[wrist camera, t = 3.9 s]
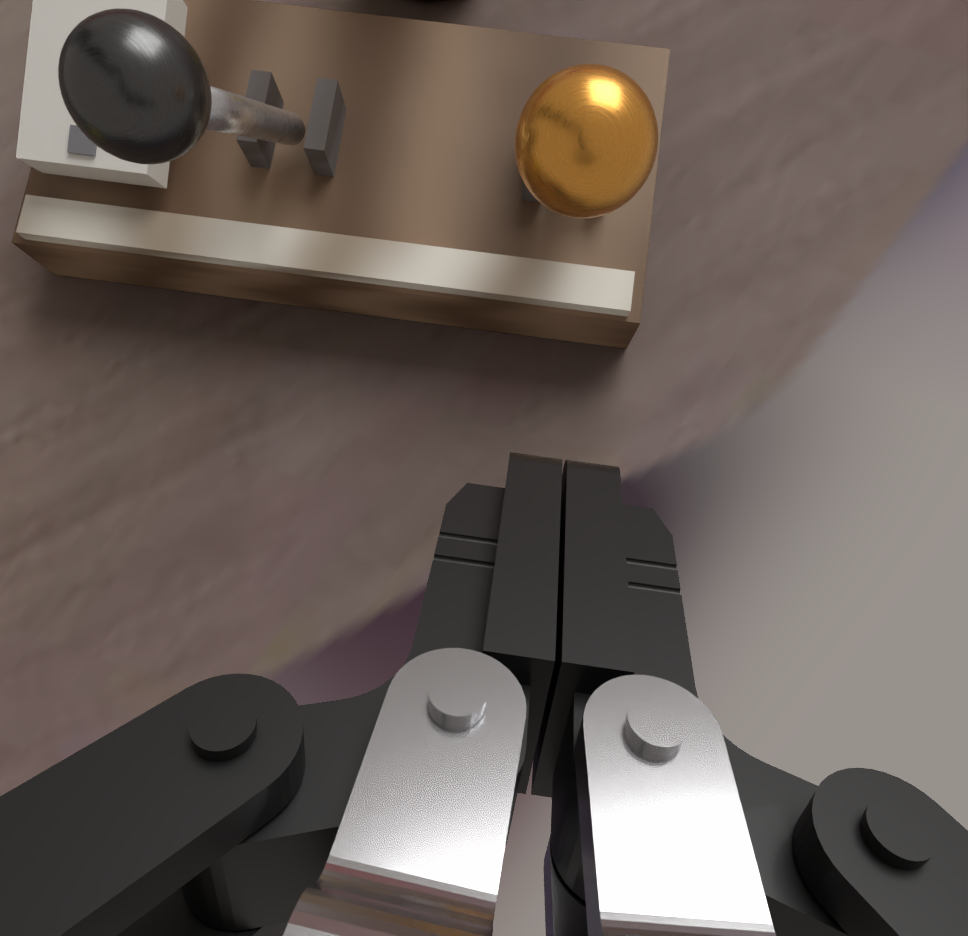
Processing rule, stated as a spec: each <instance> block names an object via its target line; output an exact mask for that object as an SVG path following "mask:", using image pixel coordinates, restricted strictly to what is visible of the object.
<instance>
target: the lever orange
mask: <svg viewBox="0 0 968 936" xmlns="http://www.w3.org/2000/svg"><path fill="white" fill-rule="evenodd" d="M657 148H658V127H657V120H656V116H655V112H654V110H653V107H652V105H651V102H650V101H649V99H648V97H647V95H646V94H645V92H644V91H643V90H642V88H641V87H640V86H639V85H638V84H637V83H636V82H635V81H634V80H633V79H632V78H630V77H629V76H628V75H626V74H625V73H623V72H621V71H619V70H617V69H615V68H612V67H609V66H606V65H600V64H579V65H575V66H571V67H568V68H565V69H563V70H560V71H558V72H557V73H555V74H553V75H551V76H550V77H549V78H547V79H546V80H545V81H544V82H542V83H541V84H540V85H539V86H538V87H537V88H536V90H535V91H534V92H533V93H532V95H531V96H530V97H529V99H528V101H527V102H526V104H525V106H524V108H523V110H522V112H521V115H520V118H519V121H518V124H517V129H516V134H515V156H516V162H517V166H518V169H519V173H520V175H521V177H522V180H523V182H524V184H525V185H526V187H527V188H528V190H529V191H530V193H531V194H532V195H533V196H534V197H535V198H536V199H537V200H538V201H539V202H540V203H541V204H542V205H544V206H545V207H547V208H548V209H550V210H551V211H553V212H555V213H557V214H560V215H563V216H567V217H572V218H583V219H584V218H594V217H598V216H602V215H605V214H608V213H611V212H612V211H614V210H616V209H618V208H620V207H621V206H623V205H624V204H626V203H627V202H628V201H629V200H630V199H631V198H633V197H634V196H635V195H636V193H637V192H638V191H639V190H640V189H641V187H642V186H643V185H644V183H645V182H646V180H647V178H648V176H649V174H650V172H651V170H652V167H653V165H654V162H655V158H656V154H657Z"/></svg>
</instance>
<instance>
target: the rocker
mask: <svg viewBox="0 0 968 936" xmlns="http://www.w3.org/2000/svg"><path fill="white" fill-rule="evenodd" d="M116 8H120V9H133V10H138V11H142V12H145V13H148V14H151V15H154V16H155V17H157V18H159V19H161V20H163V21H165V22H166V23H168V24H169V25H171V26H172V27H174V28H175V29H176V30H177V31H178V32H179V33H181V34H182V35H183V36H184V35H185V27H186V18H187V10H188V7H187V5H186V4H185V3H184V1H183V0H33V5H32V14H31V23H30V32H29V42H28V51H27V60H26V69H25V79H24V88H23V97H22V106H21V115H20V125H19V134H18V143H17V152H16V158H17V159H19V160H21V161H22V162H24V163H26V164H28V165H29V166H31V167H33V168H35V169H36V170H38V171H40V172H42V173H47V174H55V175H63V176H71V177H79V178H86V179H94V180H102V181H110V182H118V183H126V184H134V185H142V186H150V187H158V188H166V189H167V182H168V173H169V164H170V162H166V163H161V164H150V165H149V164H138V163H133V162H128V161H125V160H122V159H119V158H117V157H115V156H113V155H111V154H109V153H107V152H105V151H104V150H102V149H101V148H99V147H98V146H97V145H95V144H94V143H93V142H92V141H91V140H90V139H88V138H87V137H86V136H85V135H84V133H83V132H82V131H81V130H80V129H79V128H78V126H77V125H76V124H75V122H74V120H73V119H72V117H71V116H70V114H69V112H68V110H67V108H66V106H65V104H64V101H63V98H62V95H61V91H60V87H59V79H58V66H59V58H60V54H61V50H62V47H63V45H64V42H65V41H66V39H67V37H68V35H69V34H70V33H71V31H72V30H73V29H74V28H75V27H76V26H77V25H78V24H79V23H80V22H81V21H83V20H84V19H85V18H87V17H88V16H91V15H93V14H95V13H97V12H100V11H104V10H107V9H116Z"/></svg>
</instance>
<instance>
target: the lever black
mask: <svg viewBox="0 0 968 936" xmlns="http://www.w3.org/2000/svg"><path fill="white" fill-rule="evenodd" d="M58 79H59V87H60V91H61V95H62V98H63V101H64V104H65V106H66V108H67V110H68V112H69V114H70V116H71V117H72V119H73V120H74V122H75V124H76V125H77V126H78V128H79V129H80V130H81V131H82V132H83V133H84V135H85V136H86V137H87V138H88V139H90V140H91V141H92V142H93V143H94V144H95V145H97V146H98V147H99V148H101V149H102V150H104V151H105V152H107V153H109V154H111V155H113V156H115V157H117V158H119V159H122V160H125V161H128V162H133V163H138V164H149V165H150V164H161V163H166V162H170V161H172V160H174V159H177V158H179V157H181V156H183V155H184V154H186V153H187V152H189V151H190V150H191V149H192V148H193V147H194V146H195V145H196V144H197V142H198V141H199V140H200V139H201V137H202V136H203V134H204V132H205V130H206V129H207V130H212V131H217V132H222V133H227V134H233V135H238V136H243V137H248V138H253V139H259V140H264V141H269V142H274V143H279V144H284V145H290V146H292V145H296V144H298V143H300V142H301V141H302V139H303V137H304V135H305V126H304V123H303V121H302V119H301V118H300V117H299V116H298V115H297V114H295V113H293V112H289V111H286V110H283V109H280V108H277V107H274V106H271V105H268V104H265V103H262V102H259V101H256V100H253V99H250V98H246V97H243V96H240V95H237V94H234V93H231V92H228V91H225V90H222V89H219V88H216V87H213V86H210V82H209V79H208V75H207V72H206V70H205V68H204V65H203V63H202V61H201V59H200V57H199V56H198V54H197V52H196V51H195V49H194V48H193V47H192V45H191V44H190V43H189V42H188V41H187V40H186V39H185V37H184V36H183V35H182V34H181V33H179V32H178V31H177V30H176V29H175V28H174V27H172V26H171V25H169V24H168V23H166V22H165V21H163V20H161V19H159V18H157V17H155V16H154V15H151V14H148V13H145V12H142V11H138V10H133V9H120V8H116V9H107V10H104V11H100V12H97V13H95V14H93V15H91V16H88V17H87V18H85V19H84V20H83V21H81V22H80V23H79V24H78V25H77V26H76V27H75V28H74V29H73V30H72V31H71V33H70V34H69V35H68V37H67V39H66V41H65V42H64V45H63V47H62V50H61V54H60V58H59V66H58Z"/></svg>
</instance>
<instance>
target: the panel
mask: <svg viewBox="0 0 968 936" xmlns="http://www.w3.org/2000/svg"><path fill="white" fill-rule="evenodd" d="M183 1H184V3H185V4H186V5H187V7H188V10H187V18H186V27H185V35H184V37H185V39H186V40H187V41H188V42H189V43H190V44H191V45H192V47H193V48H194V49H195V51H196V52H197V54H198V56H199V57H200V59H201V61H202V63H203V65H204V68H205V70H206V72H207V75H208V79H209V82H210V86H213V87H216V88H219V89H222V90H225V91H228V92H231V93H234V94H237V95H240V96H243V97H246V98H250V99H253V100H256V101H259V102H262V103H265V104H268V105H271V106H274V107H277V108H280V109H283V110H286V111H289V112H293V113H295V114H297V115H298V116H299V117H300V118H301V119H302V121H303V123H304V126H305V135H304V137H303V139H302V141H301V142H300V143H298V144H296V145H292V146H290V145H284V144H279V143H274V142H269V141H264V140H259V139H253V138H248V137H243V136H238V135H233V134H227V133H222V132H217V131H212V130H207V129H206V130H205V132H204V134H203V136H202V137H201V139H200V140H199V141H198V142H197V144H196V145H195V146H194V147H193V148H192V149H191V150H190V151H189V152H187V153H186V154H184V155H183V156H181V157H179V158H177V159H174V160H172V161H170V164H169V173H168V182H167V189H166V188H158V187H150V186H142V185H134V184H126V183H118V182H110V181H102V180H94V179H86V178H79V177H71V176H63V175H55V174H47V173H42V172H40V171H38V170H36V169H35V168H33V167H32V168H31V171H30V175H29V179H28V183H27V187H26V190H25V194H24V198H23V202H22V206H21V209H20V213H19V217H18V221H17V225H16V228H15V232H14V236H13V240H12V243H13V244H14V245H16V246H17V247H18V248H20V249H21V250H22V251H24V252H25V253H26V254H28V255H29V256H30V257H32V258H33V259H35V260H36V261H37V262H39V263H40V264H41V265H43V266H44V267H45V268H47V269H48V270H49V271H51V272H52V273H53V274H55V275H62V276H70V277H77V278H85V279H93V280H100V281H108V282H116V283H124V284H131V285H139V286H147V287H154V288H162V289H170V290H177V291H185V292H193V293H201V294H208V295H216V296H224V297H231V298H239V299H247V300H255V301H262V302H270V303H278V304H285V305H293V306H301V307H309V308H316V309H324V310H332V311H339V312H347V313H355V314H363V315H370V316H378V317H386V318H393V319H401V320H409V321H417V322H424V323H432V324H440V325H447V326H455V327H463V328H471V329H478V330H486V331H494V332H501V333H509V334H517V335H525V336H532V337H540V338H548V339H555V340H563V341H571V342H579V343H586V344H594V345H602V346H609V347H617V348H625V349H626V348H627V347H628V345H629V343H630V341H631V339H632V337H633V335H634V334H635V332H636V330H637V328H638V326H639V324H640V320H641V310H642V301H643V292H644V283H645V274H646V265H647V255H648V246H649V237H650V228H651V219H652V209H653V200H654V191H655V182H656V173H657V163H658V154H659V145H660V136H661V127H662V117H663V108H664V99H665V90H666V81H667V72H668V62H669V53H670V49H664V48H655V47H647V46H638V45H629V44H621V43H612V42H604V41H595V40H587V39H578V38H570V37H561V36H552V35H544V34H535V33H527V32H518V31H510V30H501V29H493V28H484V27H475V26H467V25H458V24H450V23H441V22H433V21H424V20H416V19H407V18H398V17H390V16H381V15H373V14H364V13H356V12H347V11H338V10H330V9H321V8H313V7H304V6H296V5H287V4H279V3H270V2H261V1H253V0H183ZM579 64H600V65H606V66H609V67H612V68H615V69H617V70H619V71H621V72H623V73H625V74H626V75H628V76H629V77H630V78H632V79H633V80H634V81H635V82H636V83H637V84H638V85H639V86H640V87H641V88H642V90H643V91H644V92H645V94H646V95H647V97H648V99H649V101H650V102H651V105H652V107H653V110H654V112H655V116H656V120H657V127H658V148H657V154H656V158H655V162H654V165H653V167H652V170H651V172H650V174H649V176H648V178H647V180H646V182H645V183H644V185H643V186H642V187H641V189H640V190H639V191H638V192H637V193H636V195H635V196H634V197H633V198H631V199H630V200H629V201H628V202H627V203H626V204H624V205H623V206H621V207H620V208H618V209H616V210H614V211H612V212H611V213H608V214H605V215H602V216H598V217H594V218H584V219H583V218H572V217H567V216H563V215H560V214H557V213H555V212H553V211H551V210H550V209H548V208H547V207H545V206H544V205H542V204H541V203H540V202H539V201H538V200H537V199H536V198H535V197H534V196H533V195H532V194H531V193H530V191H529V190H528V188H527V187H526V185H525V184H524V182H523V180H522V177H521V175H520V173H519V169H518V166H517V162H516V156H515V134H516V129H517V124H518V121H519V118H520V115H521V112H522V110H523V108H524V106H525V104H526V102H527V101H528V99H529V97H530V96H531V95H532V93H533V92H534V91H535V90H536V88H537V87H538V86H539V85H540V84H541V83H542V82H544V81H545V80H546V79H547V78H549V77H550V76H551V75H553V74H555V73H557V72H558V71H560V70H563V69H565V68H568V67H571V66H575V65H579Z"/></svg>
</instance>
